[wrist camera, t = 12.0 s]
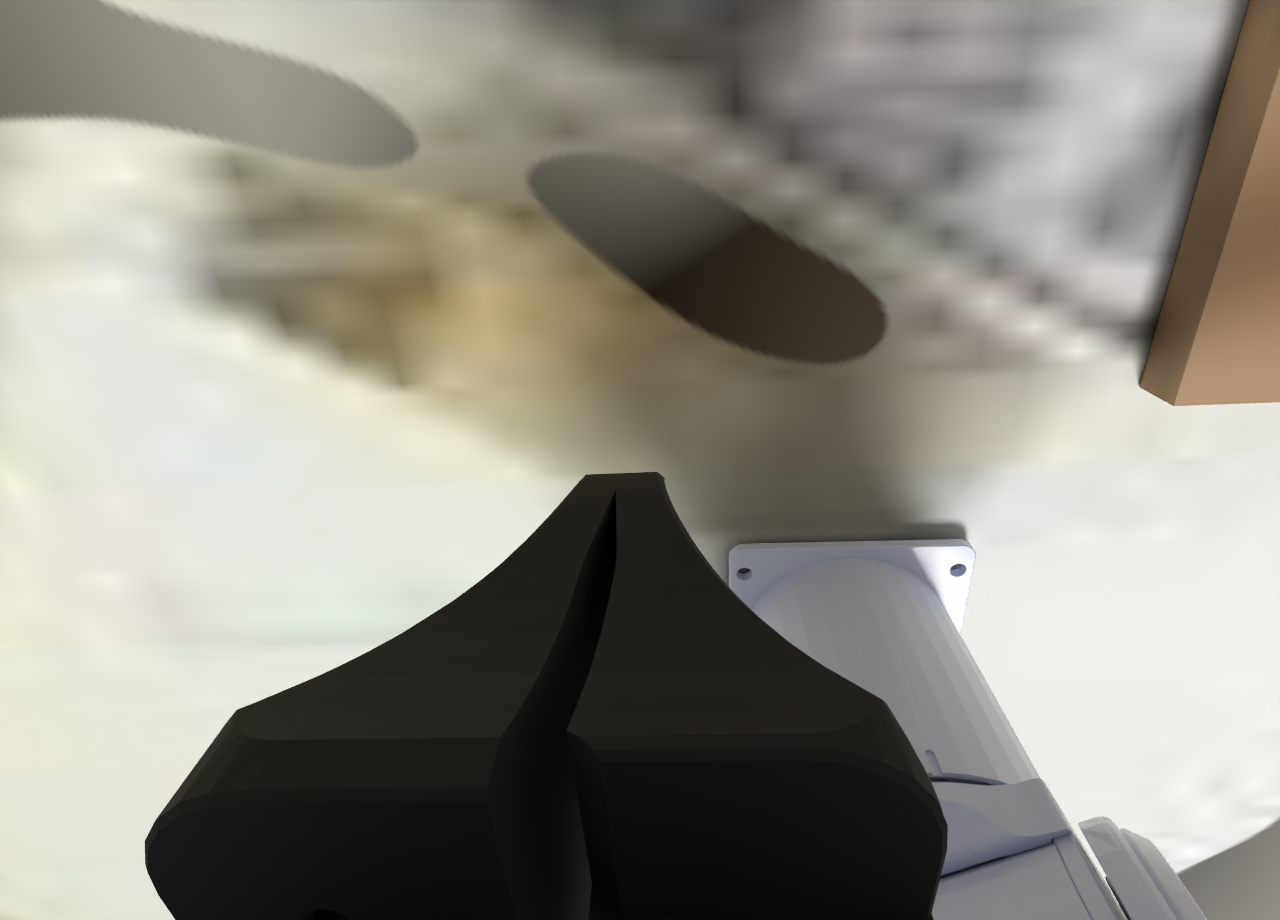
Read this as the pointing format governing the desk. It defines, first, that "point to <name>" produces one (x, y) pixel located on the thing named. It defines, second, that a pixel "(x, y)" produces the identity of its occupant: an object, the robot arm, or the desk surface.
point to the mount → (1230, 244)
